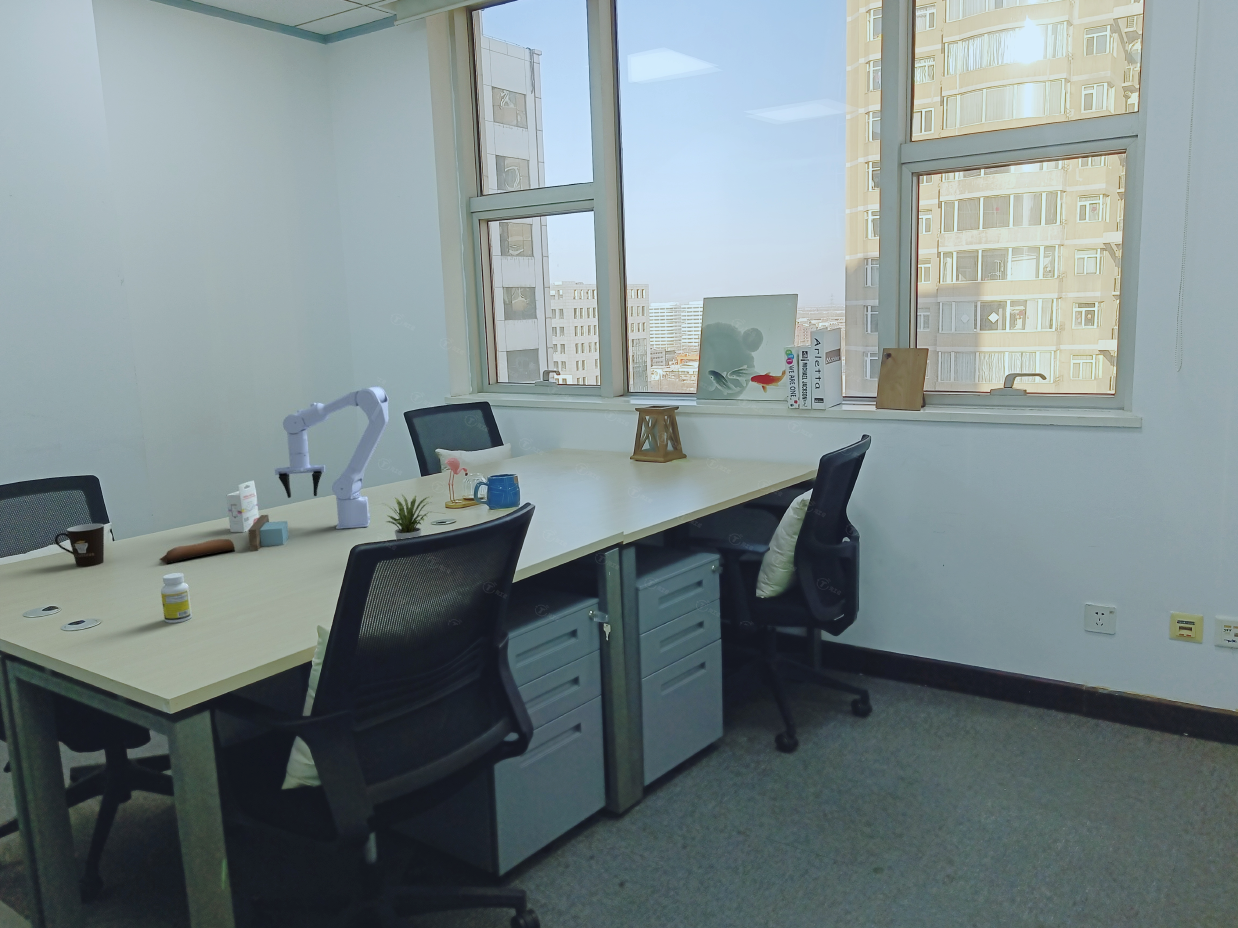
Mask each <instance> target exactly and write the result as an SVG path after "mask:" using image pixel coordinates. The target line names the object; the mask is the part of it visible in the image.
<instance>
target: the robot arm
mask: <svg viewBox="0 0 1238 928" xmlns="http://www.w3.org/2000/svg"><path fill="white" fill-rule="evenodd" d="M389 401H390V399H389V397H388V395H387V393H386V391H385V390H384V388H383V387H381V386H378V385H373V386H371V387H368V388H366V387H365V388H362V389H359V390H355V391H351V392H348V393H346V394H344V395H342V396H340V397H338V398H336V399H334V400H332V401H329V402H327V403H325V404H324V403H322V402H317V403H316V402H312V403H310V406H308V407H306V408H303V409H298V410H297V411H296V413H291V414H288V415H287V416H286V417H285V418H284V419H283V422H282V426H283V429H284V430H285V431H286V435H287V437H286V438H287V446H288V447H287V448H288V459H289V466H283V467H275V468H274V476H278V479H279V481H280V483H281V484H282V486H283V488H284V490H285V493H286V496H287V498H288V499H290V498H291V497H292V491H291V486H290V485H291V484H290V482H291V481H290V475H295V474H310V473H312V474H311V477H312V485H313V497H317V495H318V489H319V488H318V487H319V484H320V479H321V478H322V475H323V473H326V465H325V464H323V465H320V464H318V465H316V464H315V465H311V464H310V453H309V443H308V441H309V440H308V431H307V430H308V429H309V428H311V427H314V426H317V425H318V424H321V423H324V422H325V421H327V420H328V419H329V417H330V414H332V413H333V414H334V413H335V412H338V411H340V410H342V409H345V408H347V407H349V406H352V407H359V408H360V409H361V410H362V411H363V413H365V415H366V416H367V417H366V418H367V419H368V421H369V422H368V424H367V426H366V428H365V430H364V431H363V435H362V437H361V438H360V440H359V442H358V445H357V446H356V447H355V450H354V452H353V455H352V456H351V459H350V460H349V463H348V465H347V466H346V468H345V469H344V470H343V471H342V472H341V474H340V476H339V477H338V478H337V479H336V480H334V482H333V484H332V486H331V490H332V492H333V495H334V496H335V498H336V510H337V511H336V512H337V525H336V527H335V529H336V530H338V529H355V528H367V527H369V525H370V521H371V515H370V508H369V507H370V506H369V498H368V496H362V493H360V491H361V489H362V488H363V479H364V478H365V470H366V469H367V466H368V464H369V462H370V461H371V458H372V456H373V454H374V452H375V451H376V448H377V447H378V446H377V445H378V444H379V442H380V441H381V438H382V436H383V434H384V431H385V430H386V428H387V426H388V423H389V421H390V419H389V417H390V416H389V406H388V405H389Z"/></svg>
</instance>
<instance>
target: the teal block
mask: <svg viewBox="0 0 1238 928" xmlns="http://www.w3.org/2000/svg"><path fill="white" fill-rule="evenodd" d="M288 523H289V522H288V520H281V521H269V522H266V523H265V524H264V525H263V527H262V528H261V529H260V538H261V547H270V546H271V545H274V546H283V545H285V543H286V542H287V541H288V539H289V537H290V535H289V524H288ZM271 547H272V546H271Z"/></svg>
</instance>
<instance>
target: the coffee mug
mask: <svg viewBox="0 0 1238 928" xmlns="http://www.w3.org/2000/svg"><path fill="white" fill-rule="evenodd" d="M66 531H67V533H66V532H61V533H58V534H56V535H55V537H54V543H55V544H56V545H57V547H59V548H61V550H63V551H66V552H68V553H70V554H71V555H73V558H74V561H75V565H76V567H80V568H88V567H93V566H99V565H101V564H104V557H105V556H104V551H105V549H104V548H105V547H104V546H105V543H104V541H105V539H104V537H105V525H104V524H103V523H88V524H86V523H85V524H80V525H75V526H72V527H71V526H70V527H69V528H67V529H66ZM60 536H65V537H66V538H68V540H69V542H70V547H71V550H70V549H68V548H66V547H64V546H62V544H61V543H59V541H58V539H59V537H60Z"/></svg>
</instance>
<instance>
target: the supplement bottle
mask: <svg viewBox="0 0 1238 928" xmlns="http://www.w3.org/2000/svg"><path fill="white" fill-rule="evenodd" d="M184 577H185V575H184V573H182V572H175V573H168V574H166V575H163V576H162V583H163V586H162V587H161V589H160V594H161V601H162V609H163V618H164V622H166V623H169V624H174V623H175V624H176V623H182V622H186V621H188V620H190V619H191V618H192V617H193V612H192V603H191V597H190V596H191V595H190V587H189V585H188V584H187V583H186V582H184V581H185V578H184Z"/></svg>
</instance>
